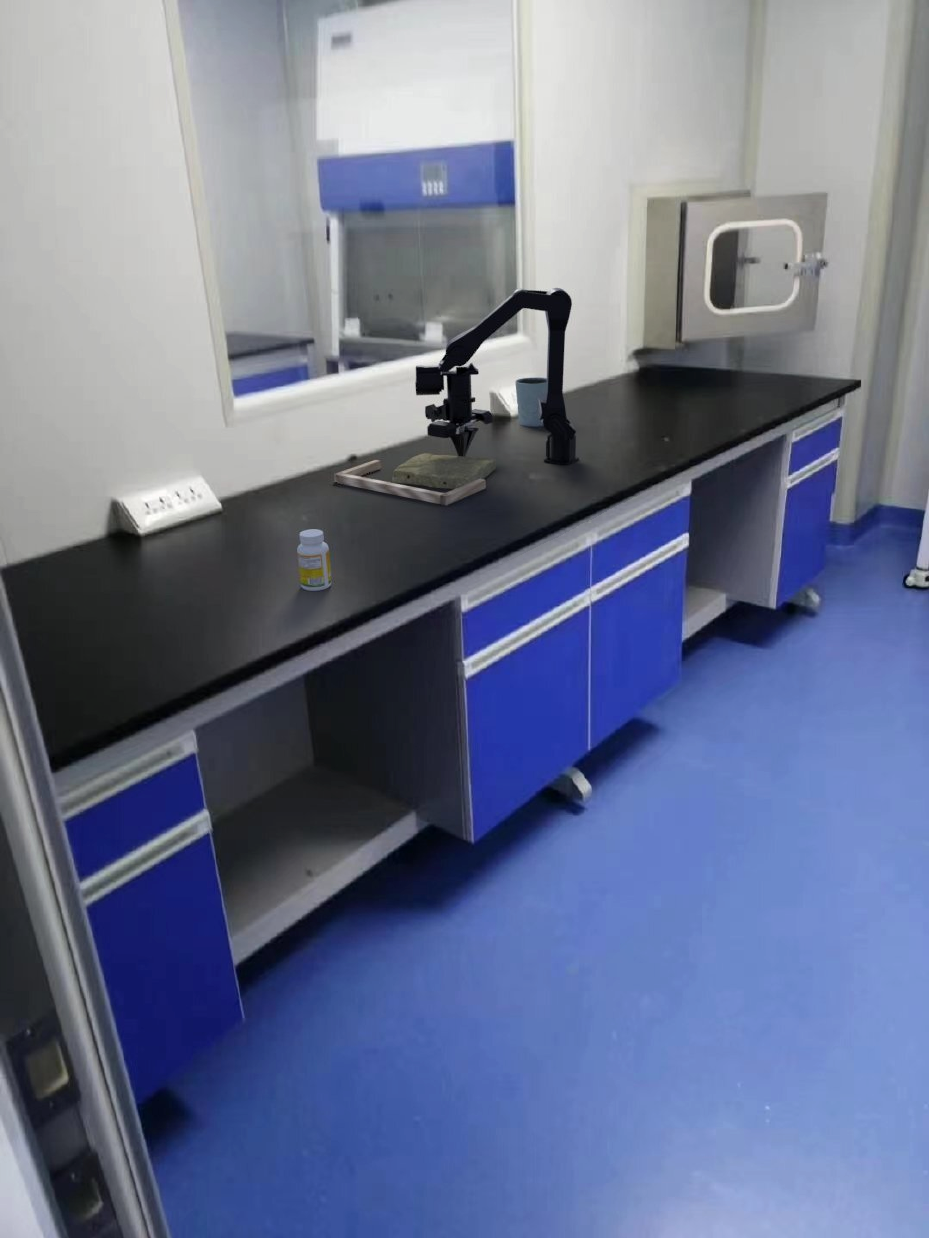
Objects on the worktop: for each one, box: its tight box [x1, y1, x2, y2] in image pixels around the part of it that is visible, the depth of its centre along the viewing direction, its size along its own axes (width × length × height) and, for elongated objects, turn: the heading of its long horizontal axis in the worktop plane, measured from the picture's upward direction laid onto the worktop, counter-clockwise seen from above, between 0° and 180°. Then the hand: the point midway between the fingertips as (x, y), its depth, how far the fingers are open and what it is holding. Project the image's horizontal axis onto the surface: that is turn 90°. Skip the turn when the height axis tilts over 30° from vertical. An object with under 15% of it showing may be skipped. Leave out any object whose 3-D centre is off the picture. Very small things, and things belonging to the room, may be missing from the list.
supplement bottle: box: [296, 528, 332, 592], centre depth 160 cm, size 5×5×10 cm
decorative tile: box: [391, 453, 496, 490], centre depth 219 cm, size 19×20×4 cm
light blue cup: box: [515, 377, 547, 428], centre depth 263 cm, size 10×10×12 cm
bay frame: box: [333, 459, 487, 506], centre depth 214 cm, size 33×14×2 cm, turn 53°
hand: (461, 458), depth 228 cm, fingers closed
